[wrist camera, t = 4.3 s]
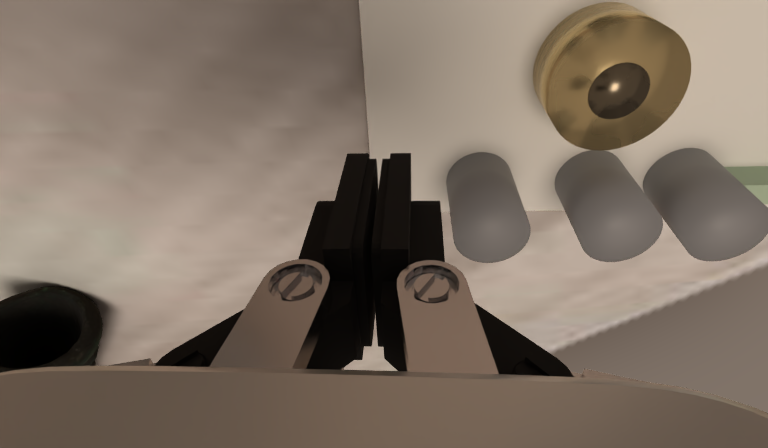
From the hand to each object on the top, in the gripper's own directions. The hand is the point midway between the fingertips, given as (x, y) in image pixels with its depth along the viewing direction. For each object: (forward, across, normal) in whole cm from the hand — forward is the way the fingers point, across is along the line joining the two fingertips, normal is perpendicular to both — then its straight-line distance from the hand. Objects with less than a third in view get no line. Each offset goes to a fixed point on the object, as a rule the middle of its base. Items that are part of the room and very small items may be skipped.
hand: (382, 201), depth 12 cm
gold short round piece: (+8, -8, -1) cm, 11 cm away
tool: (+10, +26, +25) cm, 37 cm away
